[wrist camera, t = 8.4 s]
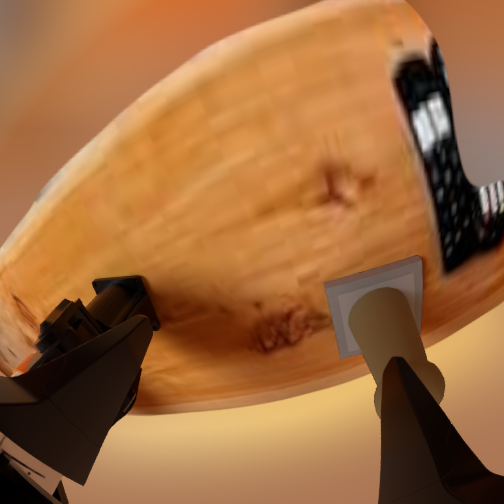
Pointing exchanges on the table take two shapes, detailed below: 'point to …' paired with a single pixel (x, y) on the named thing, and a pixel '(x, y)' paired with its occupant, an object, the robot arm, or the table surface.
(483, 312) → the table surface
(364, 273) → the coaster
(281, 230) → the table surface
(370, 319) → the cork
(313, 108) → the table surface
